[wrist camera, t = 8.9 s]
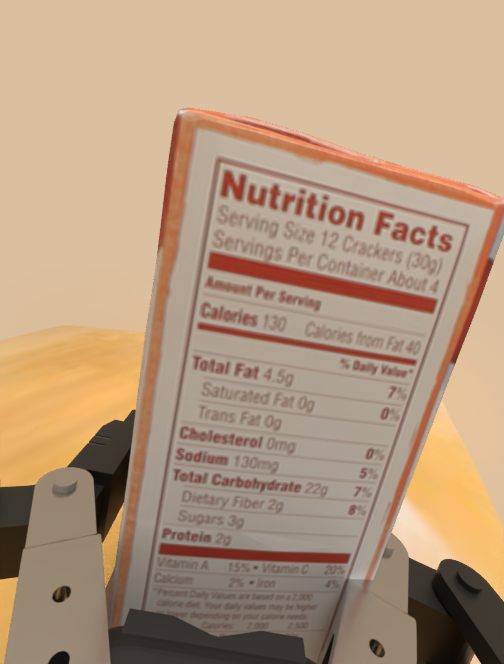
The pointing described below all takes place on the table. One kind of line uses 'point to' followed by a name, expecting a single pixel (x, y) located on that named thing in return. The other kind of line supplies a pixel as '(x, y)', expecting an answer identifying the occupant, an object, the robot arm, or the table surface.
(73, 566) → the robot arm
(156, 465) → the cracker box
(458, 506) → the table surface
